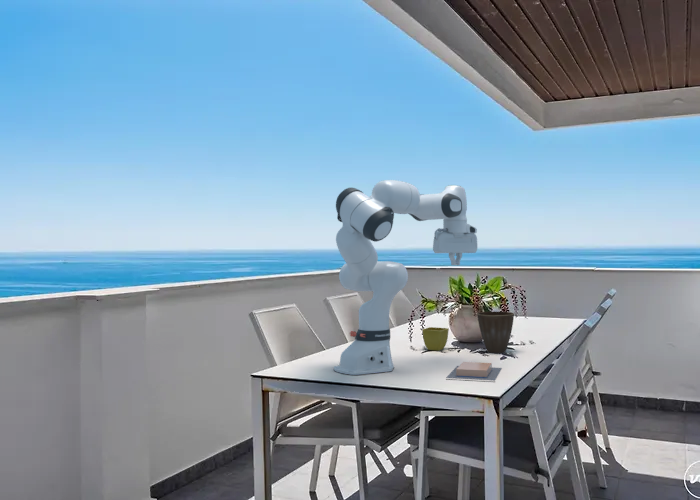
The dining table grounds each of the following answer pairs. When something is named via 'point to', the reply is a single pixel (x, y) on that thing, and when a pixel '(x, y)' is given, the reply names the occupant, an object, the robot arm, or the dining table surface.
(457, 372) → the upright blue panel
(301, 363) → the dining table surface
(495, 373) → the charcoal mat
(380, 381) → the dining table surface
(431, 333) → the flower pot
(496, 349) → the plant pot
